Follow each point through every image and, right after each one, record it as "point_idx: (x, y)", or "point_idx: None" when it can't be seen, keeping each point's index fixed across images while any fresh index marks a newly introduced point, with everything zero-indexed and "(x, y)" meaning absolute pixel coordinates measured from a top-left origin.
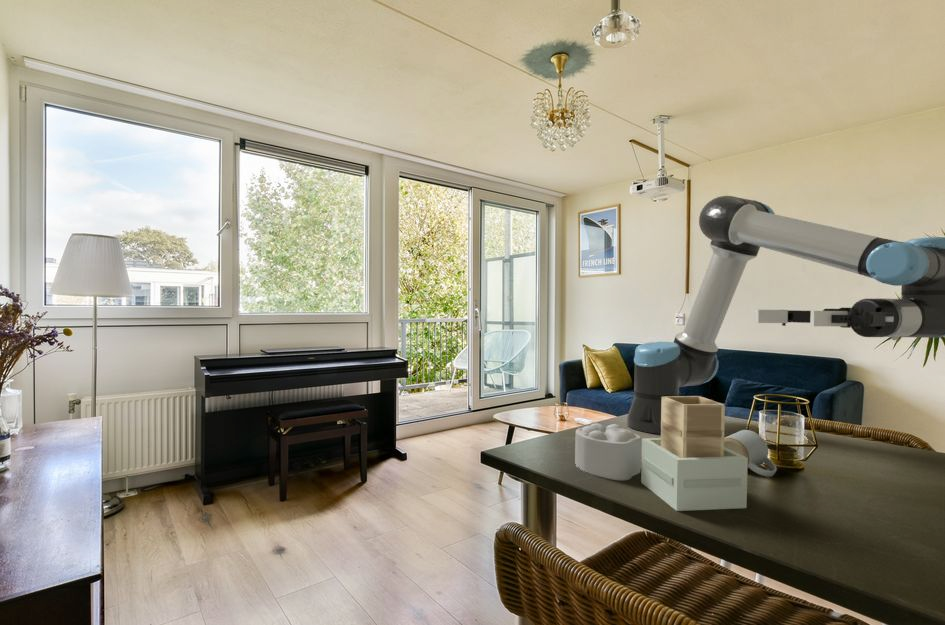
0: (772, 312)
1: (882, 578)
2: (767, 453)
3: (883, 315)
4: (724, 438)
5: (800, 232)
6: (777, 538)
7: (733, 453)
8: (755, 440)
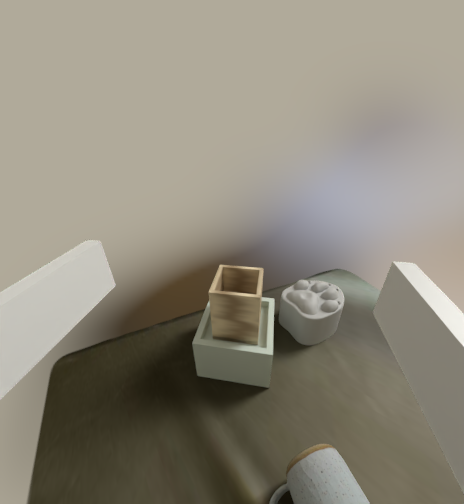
0: (433, 334)
1: (81, 373)
2: None
3: None
4: (330, 448)
5: None
6: (151, 354)
7: (208, 341)
8: None
